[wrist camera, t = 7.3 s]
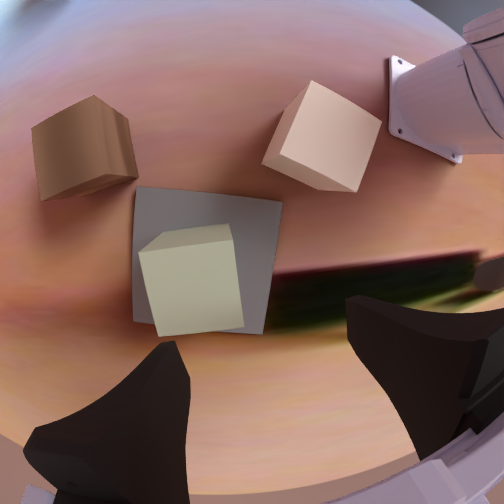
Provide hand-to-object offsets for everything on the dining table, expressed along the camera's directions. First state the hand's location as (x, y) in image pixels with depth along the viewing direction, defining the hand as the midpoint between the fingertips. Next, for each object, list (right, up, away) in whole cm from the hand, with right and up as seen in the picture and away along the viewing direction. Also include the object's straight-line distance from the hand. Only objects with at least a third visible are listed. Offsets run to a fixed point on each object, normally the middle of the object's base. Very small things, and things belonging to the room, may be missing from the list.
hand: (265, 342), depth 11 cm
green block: (-4, +3, +8) cm, 10 cm away
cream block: (+3, +11, +8) cm, 14 cm away
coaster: (-4, +3, +9) cm, 10 cm away
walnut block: (-11, +10, +6) cm, 16 cm away
